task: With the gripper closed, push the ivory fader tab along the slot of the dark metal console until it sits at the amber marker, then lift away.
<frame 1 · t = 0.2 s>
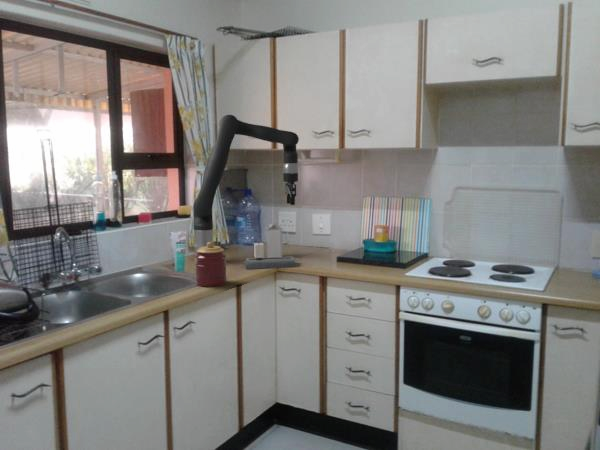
hand: (290, 204, 267), 29 cm above the worktop, tool pointing down, fingers open, 8 cm apart
milk carton: (275, 257, 277), on the worktop
console: (269, 265, 255), on the worktop
canister: (211, 283, 219), on the worktop
fader tab: (259, 252, 253), point 7 cm above the worktop, slide at 2.0 cm
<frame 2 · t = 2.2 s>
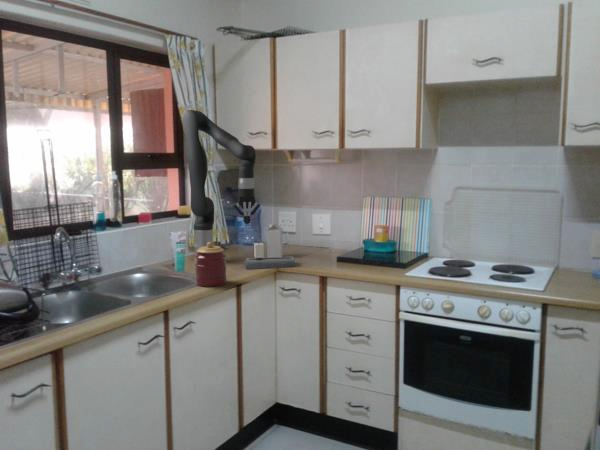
hand: (247, 223, 250), 21 cm above the worktop, tool pointing down, fingers closed
nothing on the worktop moved.
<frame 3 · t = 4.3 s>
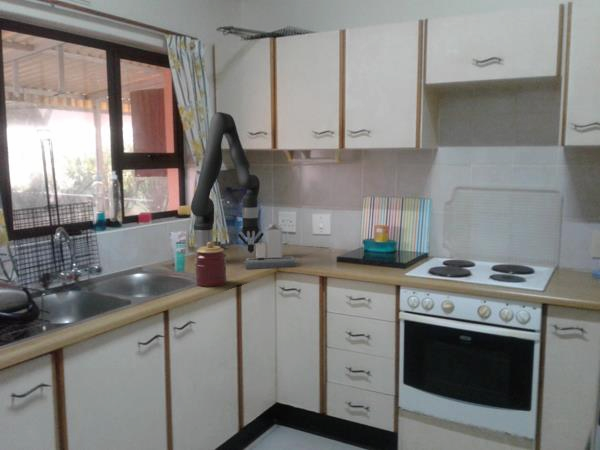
hand: (250, 252, 252), 7 cm above the worktop, tool pointing down, fingers closed
fader tab: (260, 252, 253), point 7 cm above the worktop, slide at 2.8 cm, touching gripper
everything else where it was.
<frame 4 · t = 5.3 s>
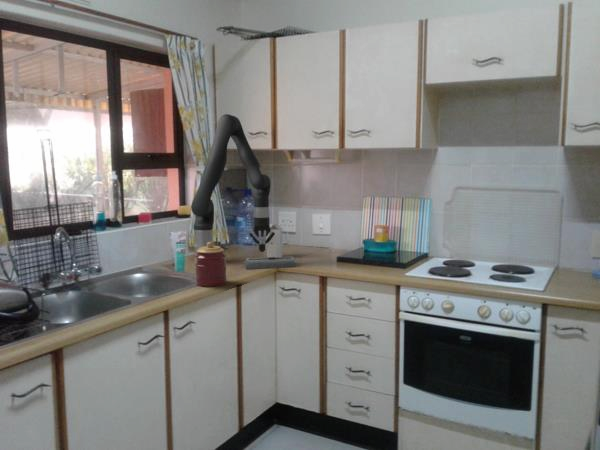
hand: (262, 251, 253), 7 cm above the worktop, tool pointing down, fingers closed
fader tab: (271, 252, 255), point 7 cm above the worktop, slide at 8.2 cm, touching gripper
everything else where it was.
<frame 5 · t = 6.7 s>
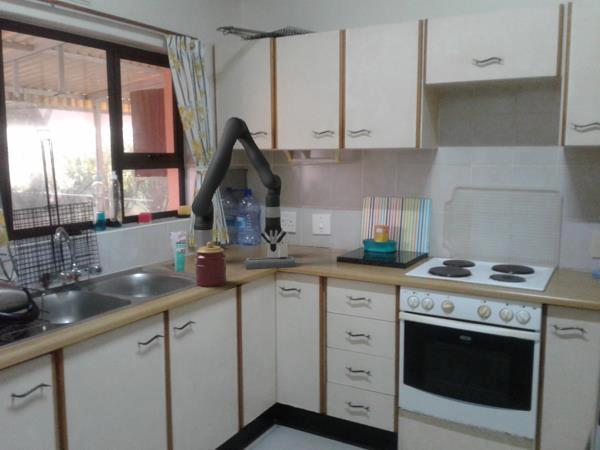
hand: (273, 251, 255), 7 cm above the worktop, tool pointing down, fingers closed
fader tab: (282, 251, 256), point 7 cm above the worktop, slide at 13.7 cm, touching gripper
everything else where it was.
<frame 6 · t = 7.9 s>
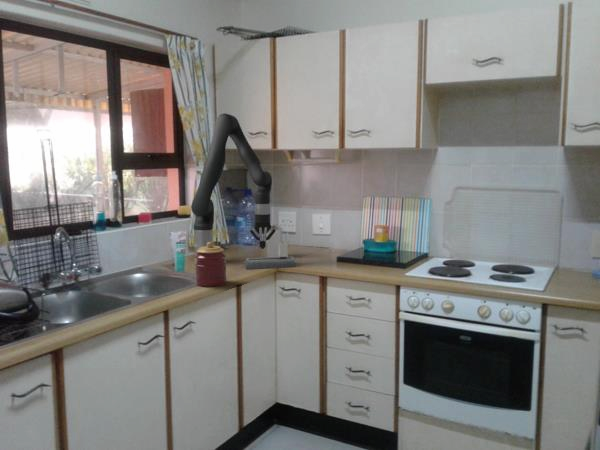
hand: (262, 248, 253), 9 cm above the worktop, tool pointing down, fingers closed
fader tab: (282, 251, 256), point 7 cm above the worktop, slide at 13.7 cm
everything else where it was.
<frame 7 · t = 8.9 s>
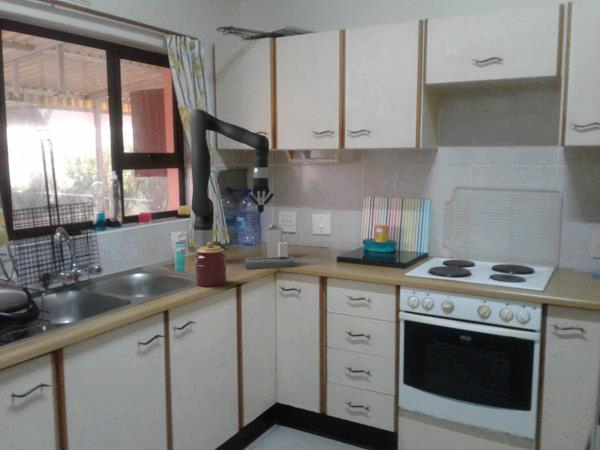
hand: (260, 212, 254), 26 cm above the worktop, tool pointing down, fingers closed
nothing on the worktop moved.
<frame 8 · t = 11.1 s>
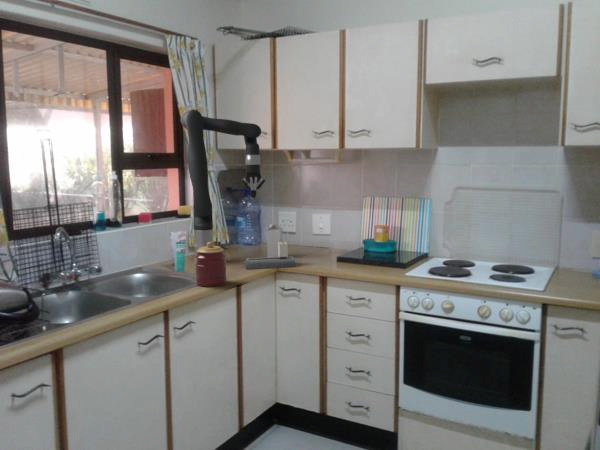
hand: (253, 197, 271), 32 cm above the worktop, tool pointing down, fingers closed
nothing on the worktop moved.
at the end: fader tab slide at 13.7 cm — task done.
